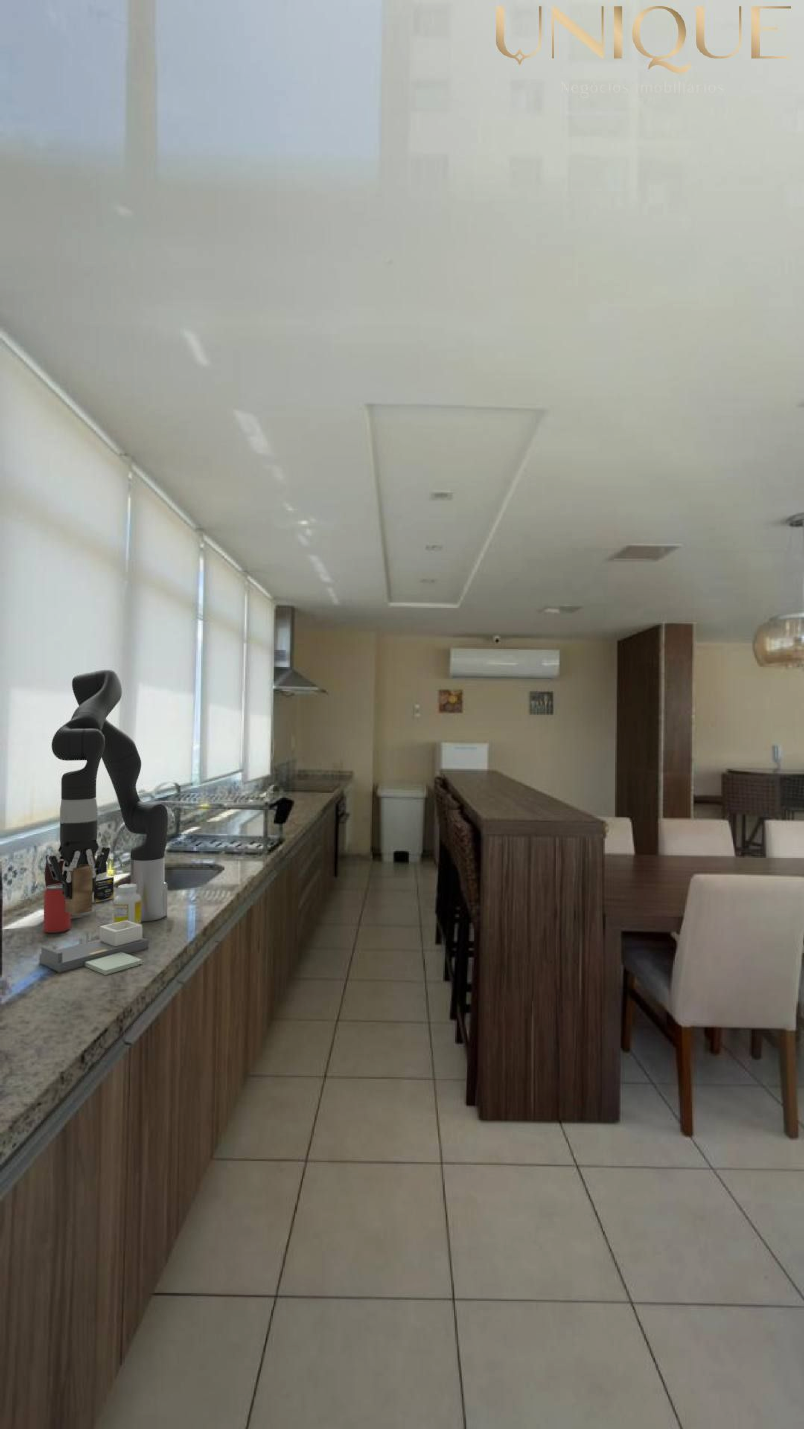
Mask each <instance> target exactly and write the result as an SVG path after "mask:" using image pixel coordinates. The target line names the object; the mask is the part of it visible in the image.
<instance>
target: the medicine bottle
mask: <svg viewBox="0 0 804 1429" xmlns="http://www.w3.org/2000/svg"><path fill="white" fill-rule="evenodd" d="M108 865H109V863H108V862H106V865H105V869H104V872H103V873H102V874H98V875H97V877H96V883H95V891H94V892H93V894H92V904H93V903H95V904H96V903H100V902H103V901H107V900H112V899H113V900H114V899H115V895H114V894H115V893H114V892H115V891H114V890H115V888H114V887H115V885H114V881H115V878H114V877H115V876H113V875H110V874H109V875H108V873H109V867H108Z"/></svg>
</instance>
